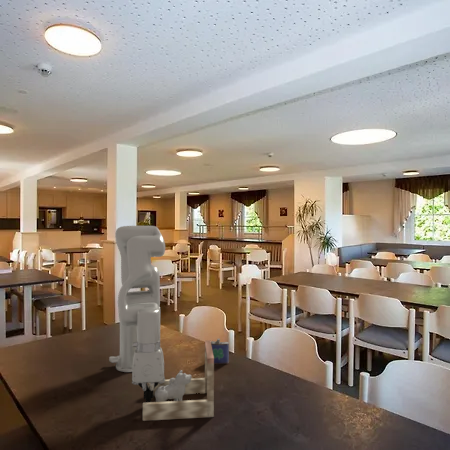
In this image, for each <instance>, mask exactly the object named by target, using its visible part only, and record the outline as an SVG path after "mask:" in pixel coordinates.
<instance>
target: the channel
mask: <svg viewBox="0 0 450 450" xmlns="http://www.w3.org/2000/svg"><path fill="white" fill-rule="evenodd" d="M170 379H171V378H169V379H165V382H164V383H161V384H158V385H157V386H156V387H155V388H154V389H153V397H155V391H156V390H157V389H158V387H160V386H167V385H169V384H170V383H169V380H170ZM172 382H173V381H172ZM147 385H148V387H150V385H151V383H147ZM214 386H215V364H214V356H213V351H212V346H211V340H208V339H207V340H204V377H195V378H193V377H191V382H190V383H188V384H186V385H185V393H184V395H195V394H196V393H197V394H196V395H198V393H200V394H206V399H191V400H190V399H189V400H188V399H187V400H182V401H174V400H173V401H172V400H171V401H169V400H168V401H167V400H166V401H165V402H156V401H151V402H146V401H145V402H143V403H142V421H144V422H145V421H161V420H162V421H163V420H179V419H181V420H182V419H197V418H213V417H215V415H214V412H215V410H214V409H215V408H214V406H215V405H214V404H215V403H214V402H215V401H214V400H215V399H214V398H215V397H214V396H215V395H214V394H215V393H214V392H215V390H214V389H215V388H214Z"/></svg>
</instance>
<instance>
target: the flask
mask: <svg viewBox="0 0 450 450" xmlns="http://www.w3.org/2000/svg"><path fill="white" fill-rule="evenodd" d="M211 346H212V351H213V356H214V365H228V364H229V362H230V360H229V357H230V356H229V355H230V354H229V352H230V351H229V350H230V349H229V348H230V343H229V342H228V341H221V338H216V340H214V341H213V340H212V341H211Z"/></svg>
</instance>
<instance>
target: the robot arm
mask: <svg viewBox="0 0 450 450" xmlns="http://www.w3.org/2000/svg"><path fill="white" fill-rule="evenodd" d="M114 238H115V242H116V245H117V248H118V252H119V254H120V275H121V276H120V280H121V287H120V289H119V293H118V296H117V308H118V309H117V310H118V313H117V314H118V320H119V355H117V356H109V357H108V358H109V359H108V360H109V362H110V363H111V364H115V369H116V370H117V371H119V372H122V373H123V372H124V373H131V375H132V376H131V380H132V381H131V384H132V385H136V386H139V387H140V388H141V389H142V391H143V400H145V403H146V402H152V400H153V399H154V396H153V389H154V388H155V387H156V386H157V385H158V384H161V383H164V382H165V380H166V378H165V360H164V359H165V358H164V351H163V349H162V347H161V307H160V304H161V289H160V288H161V285H160V284H161V283H160V281H161V280H160V278H161V277H160V271H159V269H158V267H157V266H156V265H152V258H160V257H163V256H164V255H165V252H166V243H165V242H166V241H165V238H164V237H163V235H162V233H161V231H160V229H159V227H157V226H155V225H123V226H120V227H118V228H116V230H115V237H114ZM144 288H145V289H146V288H147V289H148V290H138V291H137V290H136V291H135V290H133V291H130V289H144ZM148 383H151V385H150V387H148Z"/></svg>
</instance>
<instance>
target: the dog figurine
mask: <svg viewBox="0 0 450 450" xmlns="http://www.w3.org/2000/svg"><path fill="white" fill-rule="evenodd" d="M191 378H192V374H187V373H186V372H184V373H183V370H181V369H180V370H179V372H178V373H177V375H175V377H171V378H169V379H170V380H169V383H170V384H169V385H167V386H160V387H158V389H157V390H156V391H155V396H154V397H155V402H167V400H173V401H183V396H184V395H185V394H184V393H185V385H186V384H188V383H190V382H191ZM172 381H173V382H172Z"/></svg>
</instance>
